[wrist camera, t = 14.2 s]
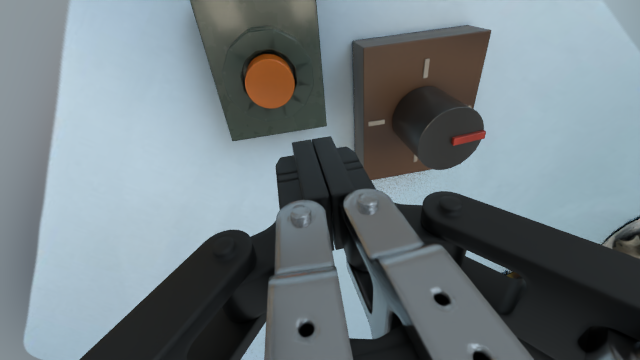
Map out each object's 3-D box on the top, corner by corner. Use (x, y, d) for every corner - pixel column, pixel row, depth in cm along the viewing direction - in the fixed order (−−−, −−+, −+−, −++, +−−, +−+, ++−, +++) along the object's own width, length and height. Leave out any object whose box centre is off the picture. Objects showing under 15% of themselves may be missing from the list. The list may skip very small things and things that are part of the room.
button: (240, 57, 19) (239, 63, 18) (288, 50, 19) (290, 55, 18) (251, 103, 21) (251, 112, 19) (295, 97, 21) (297, 105, 20)
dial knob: (392, 147, 26) (418, 178, 22) (392, 93, 23) (421, 117, 19) (445, 135, 26) (480, 163, 22) (451, 80, 23) (493, 101, 19)
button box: (195, -2, 20) (183, 1, 16) (310, -16, 20) (319, -15, 17) (234, 130, 26) (230, 151, 22) (322, 116, 26) (331, 135, 23)
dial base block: (352, 40, 23) (364, 47, 20) (468, 24, 24) (493, 30, 21) (355, 165, 30) (364, 182, 27) (444, 149, 31) (461, 165, 28)
